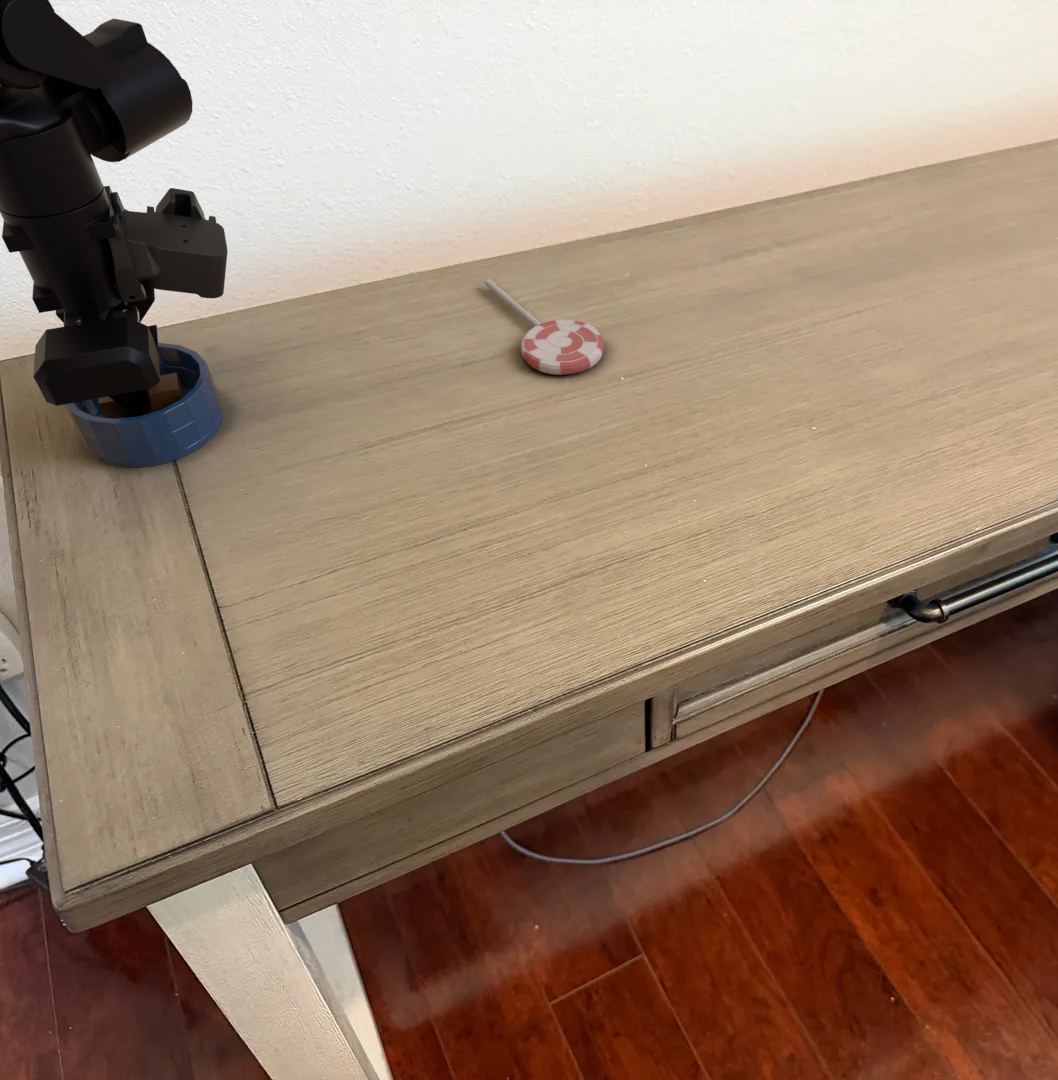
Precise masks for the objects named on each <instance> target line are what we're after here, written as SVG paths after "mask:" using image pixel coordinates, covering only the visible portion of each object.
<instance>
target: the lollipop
mask: <svg viewBox="0 0 1058 1080" xmlns="http://www.w3.org/2000/svg"><path fill="white" fill-rule="evenodd" d="M484 285H485V286H486V287H487V288H489V289H490V290H491V292H493V293H494V294H495V295H496V296H497V297H499V299H501V300H502V301H504V302H505V303H506V304H507V305H508V306H509V307H511V309H513V310H514V311H515V312H516V313H517V314H519V316H521V317H522V318H523V319H524V320H525V321H526V322H528V323H529V324H530V325H532V328H531V329H529V330H528V331H527V332H526V333H525V334H524V336H523V337H522V340H521V343H520V351H521V356H522V358H523V359H524V360H525V362H526V364H528V365H529V366H530V367H531V368H532V369H534V370H536V371H539V372H541V373H545V374H550V375H557V376H558V375H560V376H563V375H573V374H578V373H581V372H585V371H586V370H589V369H591V368H592V367H594V366H595V365H596V364H598V363H599V361H600V360H601V358H602V356H603V355H604V351H605V341H604V339H603V336H602V334H601V333H600V332H599V331H598V330H597V329H596V328H595V327H593V326H592V325H591V324H588V323H585V322H583V321H580V320H575V319H554V320H549V321H545V322H540V321H539V320H538V319H536V318H535V317H534V316H533V315H532V314H531V313H530V312H528V310H527V309H525V308H524V307H523V306H521V305H520V304H519V303H518V302H517V301H515V299H513V298H512V297H511V296H509V294H507V293H506V292H505V291H504V290H502V289H501V288H500V287H499V286H498V285H497V284H496V283H494V282H493V281H492V280H491V279H489V278H487V279H485V281H484Z"/></svg>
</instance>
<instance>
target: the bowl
mask: <svg viewBox="0 0 1058 1080" xmlns="http://www.w3.org/2000/svg"><path fill="white" fill-rule="evenodd" d="M157 354H158V357H159V369H160V376H161V375H167V374H172V373H177V376H178V378H179V381H180V383H181V386H182V388H183V391H184V393H185V396H184V397H183V398H182V399H181V400H179V401H177V402H175V403H173V404H171V405H169V406H168V407H166V408H164V409H162V410H159V411H156V412H152V413H149V414H145V415H142V416H138V417H129V418H118V419H112V418H105V416H104V414H103V412H102V410H101V408H100V406H99V404H98V398H96V399H91V400H86V401H80V402H75V403H70V404H64V406H65V408H66V410H67V412H68V414H69V416H70V418H71V420H72V421H73V424H74V426H75V428H76V430H77V432H78V434H79V436H80V438H81V440H82V442H84V444H85V446H86V447H87V449H88V451H89V452H90V453H91V455H93V456H94V457H95V458H96V459H98V460H99V461H101V462H103V463H105V464H109V465H112V466H115V467H123V468H146V467H154V466H160V465H164V464H167V463H170V462H174V461H177V460H179V459H181V458H182V459H183V458H184V457H187V456H188V455H190V454H192V453H194V452H196V451H197V450H200V449H201V448H202V447H203V446H205V445H206V444H208V442H210V441H211V440H212V439H213V438H214V437H215V435H216V434H217V433H218V432H219V430H220V429H221V427H222V424H223V422H224V421H223V420H224V409H223V405H222V403H221V398H220V395H219V393H218V390H217V386H216V385H215V381H214V379H213V377H212V374H211V371H210V369H209V366H208V363H207V361H206V360H205V359H204V357H202V355H200V354H199V353H198V352H197V351H196V350H193V349H191V348H188V347H186V346H184V345H181V344H173V343H165V342H158V348H157Z"/></svg>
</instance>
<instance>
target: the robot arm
mask: <svg viewBox="0 0 1058 1080" xmlns="http://www.w3.org/2000/svg"><path fill="white" fill-rule="evenodd" d="M192 113H193V97H192V92H191V89H190V87H189V84H188V82H187V80H186V79H184V78H183V77H182V76H181V74H180V72H179V70H178V69H177V68H176V66H175V65H174V64H173V63H172V61H171V60H170V59H169V58H168V57H167V56H166V55H165V54H164V53H163V51H161V50H160V49H158V48H157V47H155V46H154V45H153V44H151V43H149V42H148V40H147V37H146V33H145V30H144V28H143V25H142V24H140V23H139V22H135V21H129V20H124V19H119V18H111V19H109V20H107V21H104V22H103V23H100V24H99V25H98V26H97V27H96V28H94V29H93V31H91V32H89V33H87V34H85V35H83V34H81V33H80V32H79V31H78V30H76V28H75V27H74V26H72V25H71V24H69V23H68V21H66V20H65V19H63V18H62V17H61V16H60V15H59V14H58V13H56V11H55V9H54V8H53V5H52V4H51V2H50V0H0V216H1V217H2V220H3V224H2V231H1V232H2V233H1V238H2V241H3V242H4V244H5V246H6V248H7V251H8V252H9V254H11V253H17V252H19V254H20V256H21V259H22V260H23V263H24V264H25V267H26V269H27V272H28V273H29V275H30V277H31V279H32V282H33V285H32V298H31V299H32V301H33V303H34V305H35V307H36V310H37V312H38V313H39V314H41V313H49V312H54V311H55V316H56V317H57V318H58V319H59V320H60V322H62V323H63V326H60V327H54V328H53V327H52V328H47V329H45V330H44V332H43V334H42V335H41V336H40V338H39V339H38V341H37V342H36V344H35V347H34V348H35V350H34V360H33V361H34V362H33V374H32V375H33V380H34V381H35V383H36V385H37V386H38V389H39V391H40V393H41V394H42V397H43V398H44V400H45V402H46V403H47V404H50V405H54V406H56V407H57V406H58V407H59V406H65V404H70V403H75V402H80V401H86V400H91V399H96V398H102V397H107V396H108V397H110V398H111V399H112V400H114V401H115V402H117V403H118V404H119V405H121V406H122V407H124V408H125V409H126V410H128V411H129V412H131V413H132V414H133V415H135V416H141V415H145V414H149V413H151V412H152V407H151V401H150V395H149V390H148V389H150V388H152V387H153V386H155V385H156V384H157V383H159V382H160V369H159V357H158V354H157V348H158V343H159V336H158V325H157V324H153V325H152V324H151V325H146V324H144V323H141V322H142V321H143V319H144V318H145V316H146V314H147V313H148V312H149V310H150V309H151V307H152V305H153V304H154V303H155V301H156V294H155V293H156V292H155V290H159V291H169V292H175V293H176V292H177V293H182V294H183V293H184V294H193V295H197V296H199V298H202V299H218V298H220V297H222V296H223V295H224V293H225V284H226V283H225V282H226V272H227V271H226V270H227V262H228V253H229V252H228V245H227V239H226V232H225V228H224V227H223V226H222V225H221V224H220V223H218V222H217V217H216V216H214V215H208V219H206V217H205V212H204V210H203V209H202V206H201V204H200V202H199V200H198V198H197V196H196V194H195V192H194V191H192V190H188V189H187V190H186V189H182V188H181V189H180V188H174V187H170V188H169V189H168V190H167V191H166V193H165V194H164V196H163V197H162V198H161V199H160V200H159V202H158V203H157V205H156V206H155V207H154V206H151V205H147V206H146V212H143V211H132V210H128V209H126V208H125V207H124V205H123V201H122V200H121V197H120V195H119V192H117V191H112V188H111V186H110V185H105V186H104V183H103V182H102V180H101V179H102V178H101V177H100V175H99V171H98V169H97V167H96V165H95V162H94V159H93V157H95V158H96V159H99V160H102V161H103V162H108V163H119V162H122V161H124V160H126V159H128V158H130V157H131V156H133V155H135V154H137V153H138V152H140V151H141V150H143V149H145V148H146V147H148V146H150V145H151V144H154V143H156V142H157V141H158V140H160V139H163V138H164V137H165V136H168V135H169V134H171V133H173V132H174V131H176V130H178V129H180V128H181V127H183V126H185V125H186V124H187V123H188V121H190V119H191V116H192ZM92 156H93V157H92Z"/></svg>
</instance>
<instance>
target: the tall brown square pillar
mask: <svg viewBox="0 0 1058 1080" xmlns="http://www.w3.org/2000/svg"><path fill="white" fill-rule="evenodd" d="M148 390H149V395H150V401H151V407H152V412H156V411H159V410H162V409H164V408H166V407H168V406H169V405H171V404H173V403H175V402H177V401H179V400H181V399H182V398H183V397H184V396H185V393H184V391H183V388H182V386H181V383H180V381H179V378H178V376H177V373H172V374H167V375H161V376H160V382H159V383H157V384H156V385H155V386H153V387H152V388H150V389H148ZM98 404H99V406H100V408H101V410H102V412H103V414H104V416H105V418H112V419H118V418H129V417H138V416H135V415H133V414H132V413H131V412H129V411H128V410H126V409H125V408H124V407H122V406H121V405H119V404H118V403H117V402H115V401H114V400H112V399H111V398H110V397H108V396H107V397H102V398H98ZM152 412H151V413H152ZM141 416H142V415H141Z"/></svg>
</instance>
